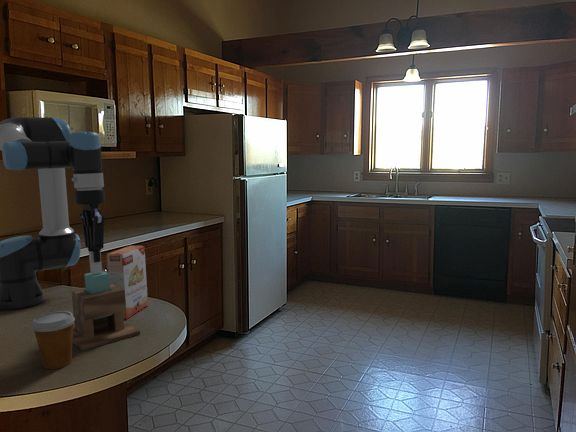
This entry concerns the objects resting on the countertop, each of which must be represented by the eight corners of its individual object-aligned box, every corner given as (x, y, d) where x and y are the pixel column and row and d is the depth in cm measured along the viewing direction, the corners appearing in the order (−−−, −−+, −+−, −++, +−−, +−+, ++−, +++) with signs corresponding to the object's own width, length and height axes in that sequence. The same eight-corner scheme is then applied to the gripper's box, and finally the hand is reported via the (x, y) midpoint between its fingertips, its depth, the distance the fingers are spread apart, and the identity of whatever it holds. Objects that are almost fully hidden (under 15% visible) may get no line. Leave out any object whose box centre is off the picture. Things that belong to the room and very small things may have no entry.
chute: (63, 334, 136) (59, 290, 135) (118, 320, 147) (115, 279, 145) (81, 350, 124) (77, 302, 123) (140, 334, 135) (137, 289, 133)
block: (88, 315, 135) (84, 274, 134) (105, 311, 138) (102, 270, 137) (94, 319, 131) (90, 277, 130) (112, 315, 135) (108, 273, 133)
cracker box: (127, 320, 147) (122, 253, 144) (110, 319, 148) (104, 253, 146) (149, 305, 161) (145, 245, 158) (133, 305, 162) (128, 244, 159)
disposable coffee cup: (76, 368, 114) (71, 320, 112) (31, 375, 111) (26, 325, 110) (81, 353, 123) (77, 308, 121) (40, 358, 120) (35, 313, 119)
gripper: (67, 189, 133) (75, 271, 136) (83, 190, 123) (90, 279, 126) (94, 187, 138) (101, 267, 141) (111, 188, 128) (118, 274, 131)
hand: (96, 273), depth 133 cm, fingers closed
